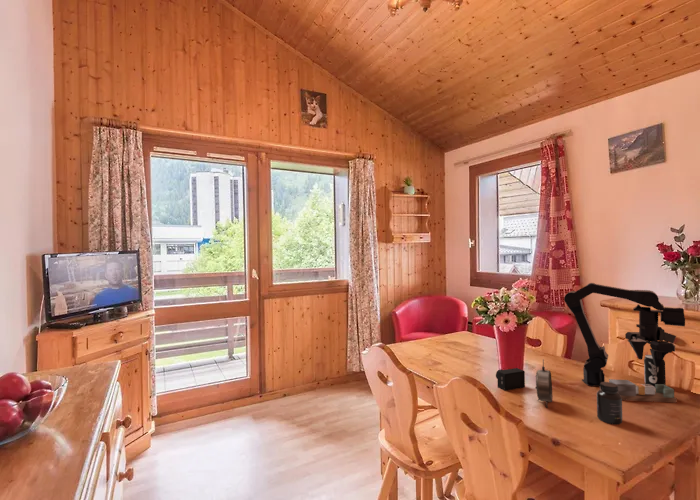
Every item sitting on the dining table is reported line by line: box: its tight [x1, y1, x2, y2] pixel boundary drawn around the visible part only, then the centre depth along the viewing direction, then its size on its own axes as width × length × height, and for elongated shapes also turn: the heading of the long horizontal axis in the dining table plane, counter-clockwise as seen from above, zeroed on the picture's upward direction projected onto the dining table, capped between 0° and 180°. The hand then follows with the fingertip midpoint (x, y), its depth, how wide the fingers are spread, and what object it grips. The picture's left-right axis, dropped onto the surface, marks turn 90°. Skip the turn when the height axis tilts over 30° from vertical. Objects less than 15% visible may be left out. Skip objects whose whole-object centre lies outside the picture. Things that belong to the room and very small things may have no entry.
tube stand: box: [608, 379, 678, 404], centre depth 134 cm, size 20×6×6 cm, turn 81°
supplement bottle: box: [596, 381, 623, 426], centre depth 118 cm, size 7×7×12 cm
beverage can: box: [643, 354, 667, 387], centre depth 146 cm, size 7×7×12 cm
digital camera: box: [495, 367, 526, 392], centre depth 148 cm, size 10×5×7 cm, turn 109°
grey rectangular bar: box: [633, 382, 655, 395], centre depth 135 cm, size 13×3×3 cm, turn 81°
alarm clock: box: [535, 358, 553, 409], centre depth 132 cm, size 11×5×16 cm, turn 148°
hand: (648, 363), depth 138 cm, fingers open, 9 cm apart
